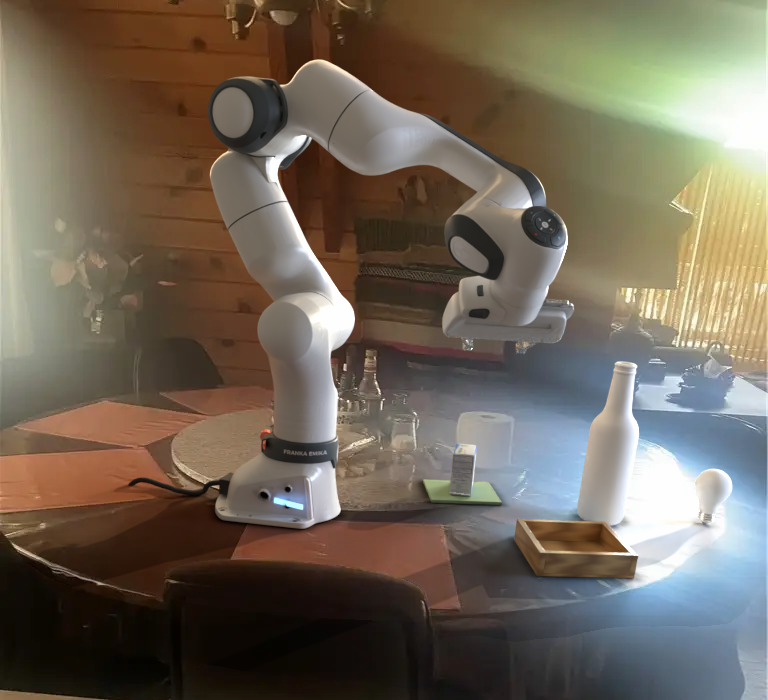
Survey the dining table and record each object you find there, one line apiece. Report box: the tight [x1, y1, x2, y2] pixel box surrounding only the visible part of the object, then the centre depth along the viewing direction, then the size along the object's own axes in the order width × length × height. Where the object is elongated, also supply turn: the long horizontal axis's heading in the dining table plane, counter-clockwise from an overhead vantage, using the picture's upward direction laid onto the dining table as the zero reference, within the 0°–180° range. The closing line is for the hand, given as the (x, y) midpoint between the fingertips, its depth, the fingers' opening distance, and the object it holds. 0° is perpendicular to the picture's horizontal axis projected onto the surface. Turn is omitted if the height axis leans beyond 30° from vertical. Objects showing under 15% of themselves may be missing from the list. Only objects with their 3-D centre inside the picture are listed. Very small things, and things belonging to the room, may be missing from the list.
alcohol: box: [576, 361, 640, 527], centre depth 141 cm, size 9×9×30 cm
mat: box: [422, 479, 503, 506], centre depth 153 cm, size 14×12×1 cm
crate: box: [513, 518, 639, 579], centre depth 126 cm, size 16×14×4 cm
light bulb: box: [694, 468, 733, 525], centre depth 145 cm, size 7×7×11 cm
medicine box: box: [449, 443, 478, 497], centre depth 152 cm, size 8×4×9 cm, turn 171°
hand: (493, 349), depth 132 cm, fingers open, 8 cm apart
